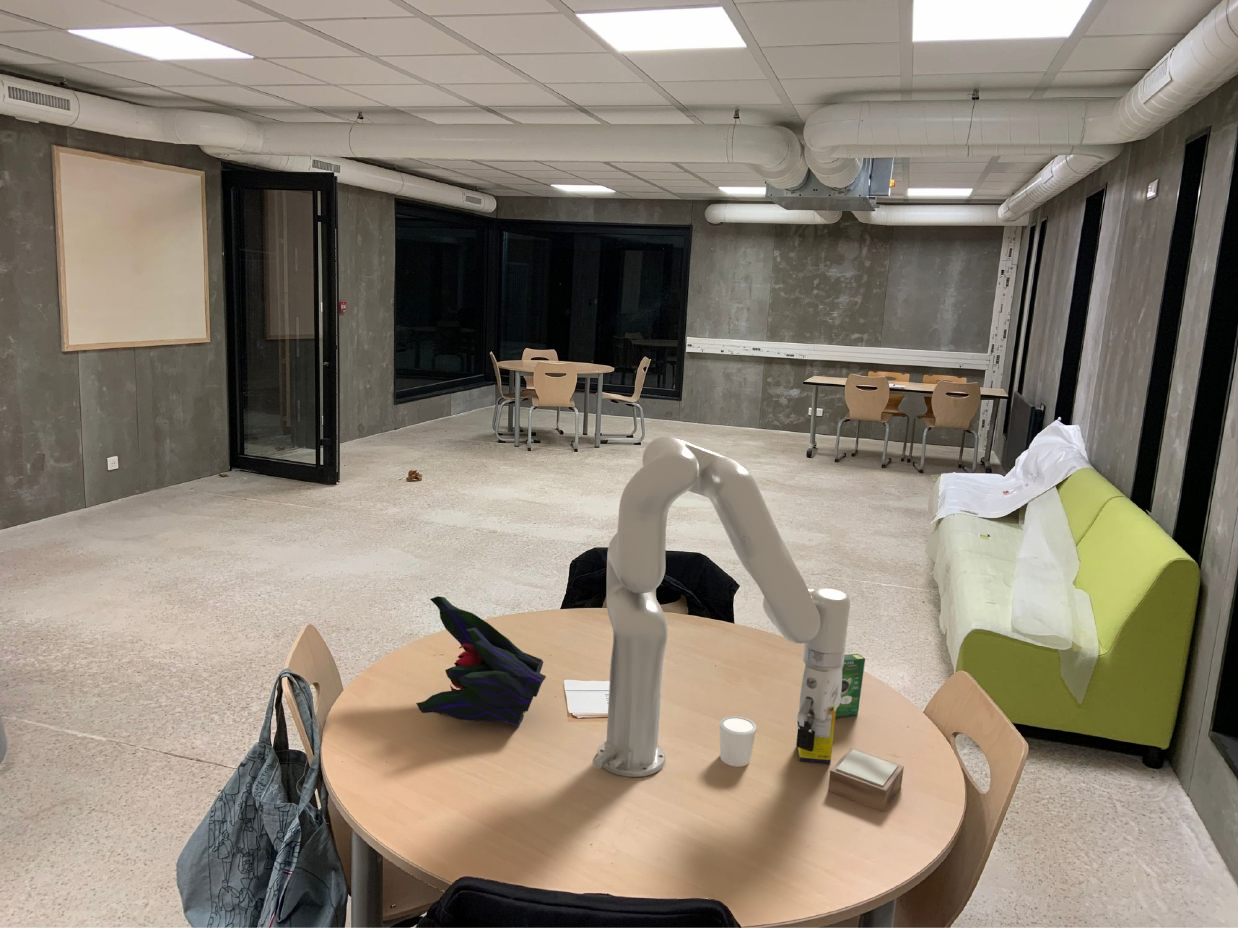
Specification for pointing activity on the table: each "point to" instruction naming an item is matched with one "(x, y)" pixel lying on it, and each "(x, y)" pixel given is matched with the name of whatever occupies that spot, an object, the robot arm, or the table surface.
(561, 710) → the table surface
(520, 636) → the table surface
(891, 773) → the brown small box
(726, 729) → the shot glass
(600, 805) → the table surface
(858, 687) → the coffee box
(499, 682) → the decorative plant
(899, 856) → the table surface
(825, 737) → the supplement box
